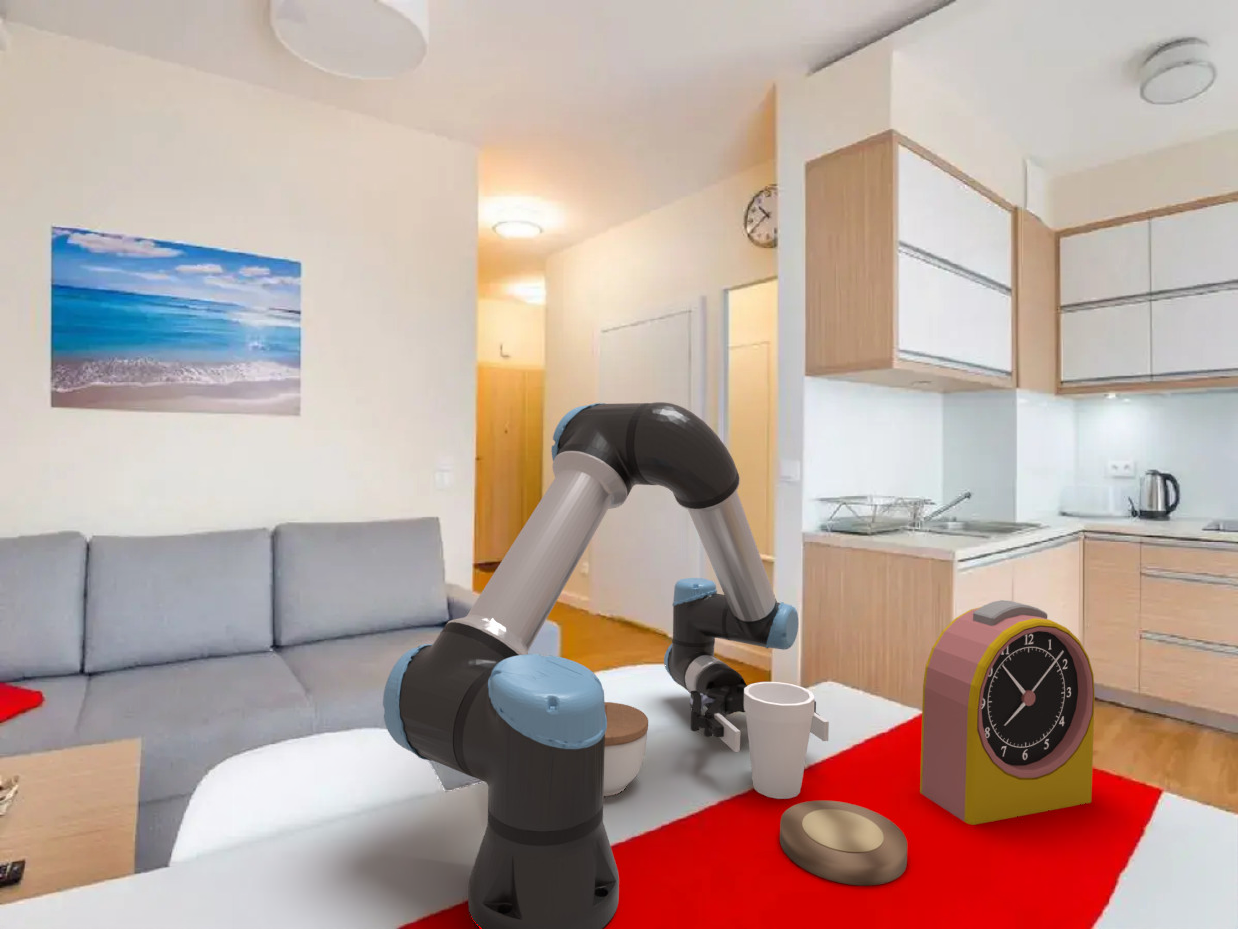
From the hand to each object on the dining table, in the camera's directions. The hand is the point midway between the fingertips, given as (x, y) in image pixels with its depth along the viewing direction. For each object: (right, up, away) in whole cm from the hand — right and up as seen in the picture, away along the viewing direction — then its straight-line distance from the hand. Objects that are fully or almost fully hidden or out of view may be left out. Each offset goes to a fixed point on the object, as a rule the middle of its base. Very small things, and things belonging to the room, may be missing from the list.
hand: (782, 736), depth 94 cm
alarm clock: (+30, -8, 0) cm, 31 cm away
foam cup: (-1, -8, +1) cm, 8 cm away
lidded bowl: (-25, -7, +1) cm, 26 cm away
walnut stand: (+4, -8, -14) cm, 16 cm away
